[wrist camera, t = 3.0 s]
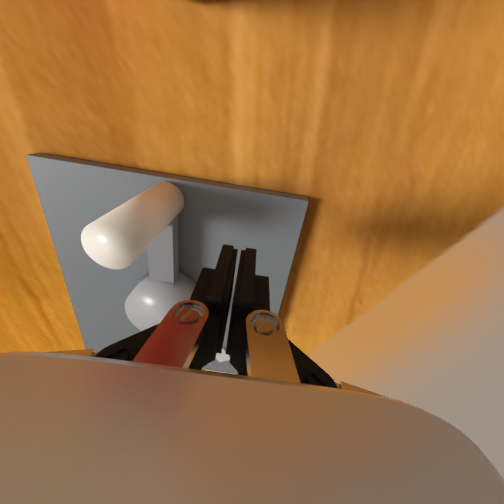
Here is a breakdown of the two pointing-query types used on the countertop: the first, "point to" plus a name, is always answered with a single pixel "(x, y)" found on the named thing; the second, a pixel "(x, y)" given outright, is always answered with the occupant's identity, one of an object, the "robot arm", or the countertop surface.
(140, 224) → the peg dial
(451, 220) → the countertop surface
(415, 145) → the countertop surface
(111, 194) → the board
